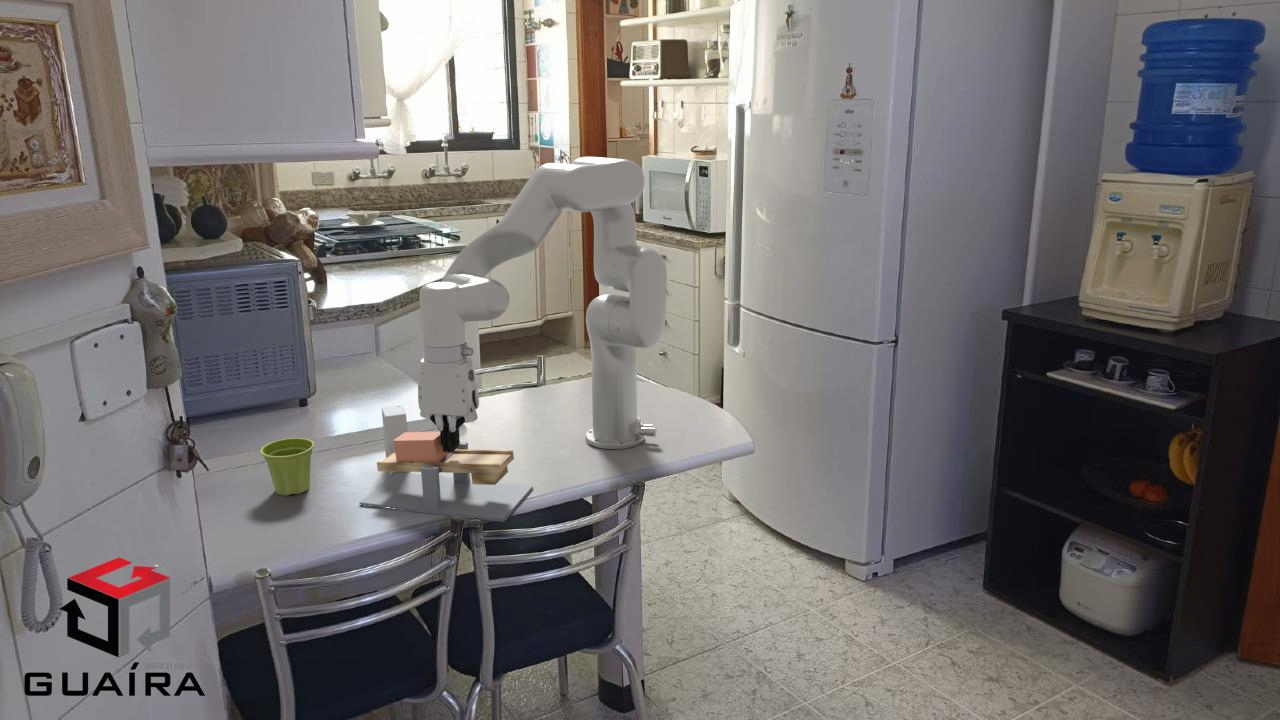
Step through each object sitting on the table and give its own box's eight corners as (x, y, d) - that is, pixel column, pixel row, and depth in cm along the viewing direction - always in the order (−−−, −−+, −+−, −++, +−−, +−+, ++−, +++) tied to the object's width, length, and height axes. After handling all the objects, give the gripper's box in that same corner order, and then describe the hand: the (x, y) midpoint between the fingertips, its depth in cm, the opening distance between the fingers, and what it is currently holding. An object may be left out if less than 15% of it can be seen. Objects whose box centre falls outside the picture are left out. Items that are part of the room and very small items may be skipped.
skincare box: (385, 462, 190) (381, 406, 187) (407, 459, 192) (403, 404, 188) (389, 473, 185) (384, 416, 182) (411, 470, 186) (406, 413, 183)
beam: (518, 467, 175) (516, 446, 174) (497, 489, 165) (494, 467, 164) (402, 465, 181) (399, 445, 180) (375, 486, 171) (371, 465, 170)
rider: (447, 454, 174) (443, 431, 173) (437, 463, 170) (433, 440, 169) (408, 454, 176) (404, 432, 175) (397, 463, 172) (393, 440, 171)
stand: (532, 489, 178) (531, 447, 175) (503, 522, 164) (501, 477, 162) (398, 474, 184) (395, 434, 182) (359, 505, 171) (355, 462, 169)
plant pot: (292, 503, 172) (287, 459, 169) (254, 494, 176) (249, 451, 173) (329, 484, 180) (324, 442, 177) (292, 476, 184) (287, 434, 181)
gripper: (492, 349, 168) (497, 446, 173) (416, 344, 171) (422, 439, 176) (475, 361, 161) (480, 461, 166) (396, 355, 164) (403, 453, 169)
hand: (450, 449), depth 171 cm, fingers closed
